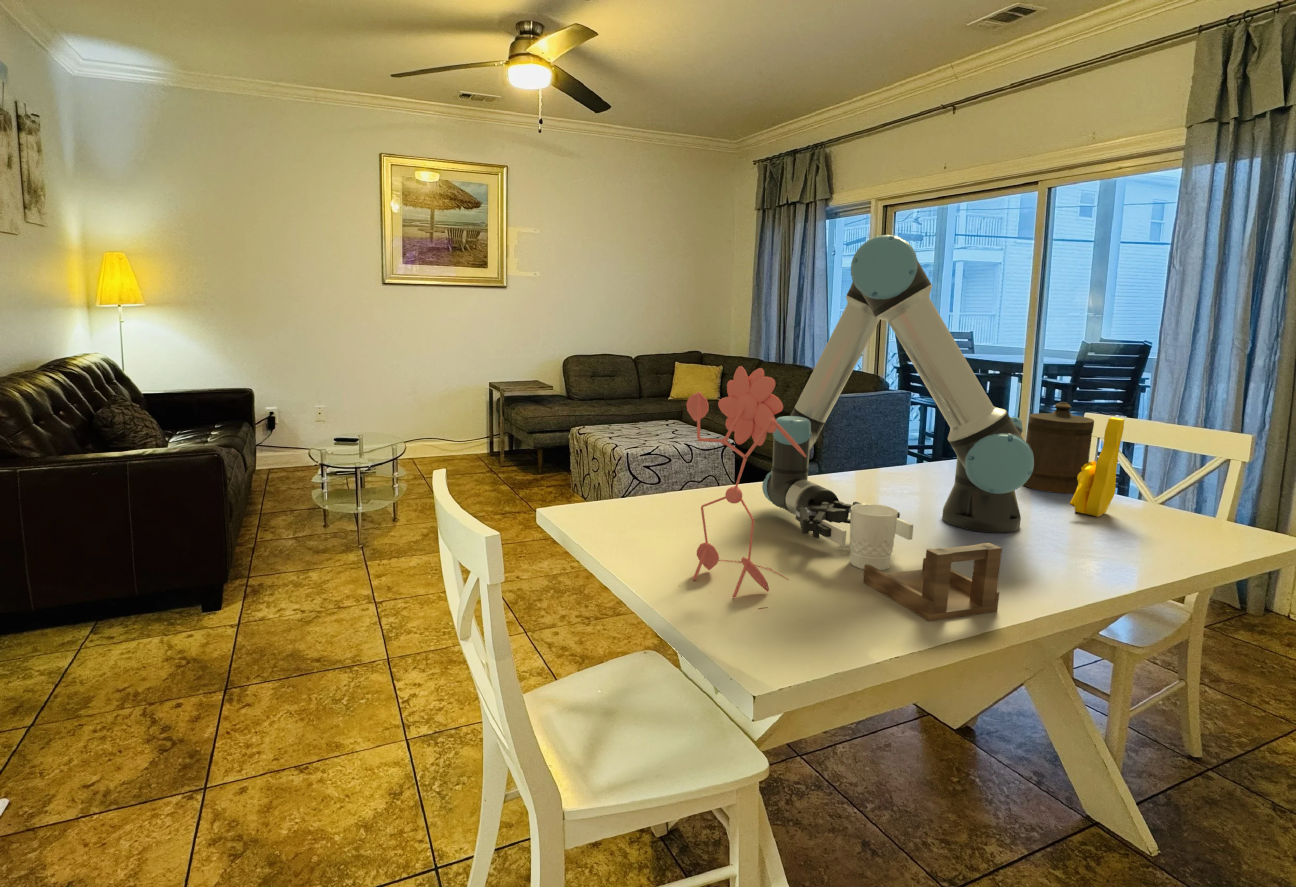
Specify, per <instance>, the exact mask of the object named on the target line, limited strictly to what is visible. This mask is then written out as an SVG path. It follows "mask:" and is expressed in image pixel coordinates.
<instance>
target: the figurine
mask: <svg viewBox="0 0 1296 887" xmlns="http://www.w3.org/2000/svg"><path fill="white" fill-rule="evenodd" d="M775 380H776V379H774V378H773V377H771V376H765V370H764V369H763V368H762V367H761V368H756V369H755V370H753V371H752V373H750V374H749V376H748V373H747V371H746V369H745V368H744V367H743V366H739V365H738V367H737V368H736V370H735V371H734V375H733V379H730V380H728V381H727V385H726V389H727V395H728V396H725V397H722V398H721V399H719V400H718V403H717V406H718V409H719V410H720V412H721V413H722V414H723V415H725V416H726V417H727V418H726V419H725V423H724V424H725V428H726V430H728V431H727V433H726V435H725V437H723V438H720V439H719V438H709V437H708V438H706V437H701V419H703V418H705V417H706V416H707V414H708V412H709V409H710V408H709V406H710V405H709V401H708V399H707V397H705V396H704V395H703V394H702V392H701V391H697V392H696V393H692V395H690V396H689V397H688V398H687V401H686V404H685V405H686V406H685V407H686V411H687V413H688V414H689V416H690V417H691V419H692V420H693V421H694V422H696V438H697V442H705V443H707V442H708V443H709V442H710V443H721V445H722V446H726V447H728V448H729V449H730V450H733V451H734V452H735V453H736V454H737V455H739V456H740V457H742V458H743V459H742V463H741V465H740V469H739V473H738V475H737V479H736V483H735V485H734V486H731V487H729V488H727V489H726V490H725V495H724V496H722V497H720V498H717V499H714V500H712V501H709V502H707V503H704V504H702V505H701V507H700V511H701V512H700V514H701V519H702V526H703V527H702V528H703V532H704V540H705V542H703V543H700V544H699V545H698V548H697V550H696V557H697V559H698V560H699V562H698V565H697V567H696V569H695V572H694V575H693V577H692V580H693V581H696V580H697V578H698V576H699V573H700V571H701V568H702V566H704V568H706V569H707V570H708V571H710V570H712V569H713V568H714V567H715V566H716V565H718V562H720V561H721V562H729V560H727V559H720V556H719V552H718V551H717V549H716V547H715V546H714V545H712V544H711V543H709V541H708V533H707V525H706V518H705V512H704V508H705V507H707V506H710V505H713V504H715V503H718V502H720V501H722V500H723V501H724V500H725V499H726V501H727V502H729V503H730V504H733V505H734V504H738V503H740V502H741V504H742V506H743V507H744V509H745V511H746V513H747V514H748V516H749V518H750V520H751V525H750V534H749V535H750V536H749V546H748V555H747V556H748V557H746V556H742V557H741V560H739V561H738V560H730V562H733V563H739V564H742V565H743V568H742V571H741V573H740V576H739V579H738V581H737V583H736V587H735V589H734V592H733V594H732V598H737V595H738V593H739V591H740V588H741V585H742V583H743V581H744V578H745V575H746V572H747V573H748V574H749V576H751V578H752V579H753V580H754V581H755V582H756V583H757V584H758V585H759V586H761V588H762V589H763V590H765V591H766V592H767V593H769V591H770V587H769V585H768V584H769V583H768V581H767V579H766V578H765V576H764V575H763V573H762V572H761V570H759V568H762V569H764V570H765V569H766V570H768V571H771V572H773V573H775V574H778V575H780V576H782V577H784V578H785V579H786V580H787V581H789V580H790V579H788V578H787V577H786V576H785V575H783V574H781V573H779V572H777V571H775V570H773V569H772V568H771V567H767V566H766V567H765V566H761V565H757V564H754V563H753V562H752V560H751V554H752V546H753V538H754V537H753V535H754V527H755V526H754V525H755V518H754V516H753V515H752V513H751V512H750V510H749V508H748V507H747V506H748V505H747V504H746V503H745V501H744V499H743V492H742V490H741V488H739V484H740V481H741V477H742V474H743V472H744V469H745V466H746V462H747V460H748V457H749V456H750V455H751V454H752V453H753V451H754V450H755V448H756V447H757V446H758V447H760V446H762V445H764V443H765V441H766V439H767V434H768V433H770V434H773V433H774V432H775V431H776V428H777V429H778V430H779V431H780V432H781V434H782V435H783V436H784V437H785V438H786V439H787V440H788V441H789V442H790V443H791V444H792V445H793V446H794V447H795V448H796V449H797V450H798V451H799V452H800V453H801V454H802V455H803V456H804V457H806V455H805V453H804V452H803V450H802V449H801V448H800V446H799V445H798V444H797V443H796V442H795V441H794V439H793V438H792V437H791V436H790V435H789V434H788V433H787V432H786V431H785V430H784V429H783V428H782V427H781V426H780V425H779V424H778V423H777V422H776V417H775V415H777V414H779V413H781V412H782V411H783V409H784V405H783V402H782V401H781V399H780V397H778V396H776V395H775V394H773V391H774V390H775V387H776V384H777V383H776V381H775ZM732 432H734V435H733V436H734V442H735V443H736V445H742V444H744V443H746V441H747V440H748V439H749V438H752V440H753V444H752V445H751V446H750V448H749V449H748V451H747V452H746V453H745V454H744V453H743V452H742V450H739V449H738V448H737V447H735V446H734V445H733V444H731V443H730V442H729V441H728V440H729V437H730V436H731V434H732ZM758 567H759V568H758ZM768 608H769V606H766V607H760V608H757V610H764V609H768Z"/></svg>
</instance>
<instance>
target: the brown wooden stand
mask: <svg viewBox="0 0 1296 887" xmlns="http://www.w3.org/2000/svg"><path fill="white" fill-rule="evenodd" d="M1002 551H1003V548H1002V547H1000V546H998V545H995V544H993V543H991V542H984V543H975V544H971V545H963V546H961V545H960V546H952V547H943V548H941V547H937V548H929V549H928V548H927V549H926V552H925V557H923V560H922V567H921V568H922V569H915V570H914V569H913V570H907V571H896V572H888V573H887V572H884V571H883V570H878V569H877V568H875V567H873V566H871V565H869V564H866V565H865V566H864V569H863V582H862V583H864V584H866V585H868V586H869V587H870V588H872V589H874V590H876V591H877V592H879V593H881V594H883V595H884V596H886V597H887V598H890V600H893V601H895V602H896V603H898V604H899V605H901V606H903V607H904V608H906V609H907V610H910V611H911V612H913V613H914V614H916V615H918V617H919V616H920V617H921V618H923V619H925V620H926V621H928V622H932V621H940V620H946V619H953V618H954V619H955V618H960V617H966V616H967V617H968V616H974V615H981V614H987V613H994V612H998V606H999V600H1000V591H998V584H999V576H1000V569H1001V568H1000V567H1001V559H1002ZM969 561H973V567H972V578H970V577H969V576H966V575H964V574H962V573H961V572H960V573H959V572H958V571H955V570H954V569H952V564H953V563H960V562H969Z"/></svg>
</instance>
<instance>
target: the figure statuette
mask: <svg viewBox="0 0 1296 887" xmlns="http://www.w3.org/2000/svg"><path fill="white" fill-rule="evenodd" d="M1106 423H1107V424H1106V426H1105V430H1104V437H1103V445H1102V447H1101V451H1100V453H1099V456H1098V458H1097V459H1096V460H1091V461H1089V463H1087V464H1085V465H1084V466H1082V467H1081V470H1082V471H1081V472H1080V473H1079V474H1078V477H1077V480H1078V486H1077V489H1076V492H1075V493H1073V496H1072V498H1071V500H1070V502H1069V505H1070V506H1072V507H1074V512H1076V513H1080V514H1086V515H1090V516H1093V517H1097V518H1099V517H1100V516H1102V515H1104V514H1105V513H1107V511H1108V508H1109V506H1110V504H1111V502H1112V500H1113V499H1114V497H1115V494H1116V487H1117V486H1116V485H1117V484H1116V481H1117V466H1118V462H1119V452H1120V448H1121V447H1120V446H1121V441H1122V438H1123V434H1124V427H1125V426H1124V425H1125V419H1124V418H1119V417H1109V418H1108V420H1107V422H1106Z"/></svg>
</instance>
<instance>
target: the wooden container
mask: <svg viewBox="0 0 1296 887" xmlns="http://www.w3.org/2000/svg"><path fill="white" fill-rule="evenodd" d="M1054 407H1055V410H1054V411H1053V412H1049V413H1048V412H1047V413H1045V412H1039V413H1038V412H1037V413H1030V414H1029V417H1028V424H1027V430H1026V439H1025V442H1026V443H1028V445H1029V446H1030V448H1031V449H1032V452H1033V455H1034V468H1033V472H1032V474H1031V476H1030V478H1029V479H1028V480H1027V482H1026V483H1025V484H1024V485H1023V486H1024V487H1027V488H1029V489H1032V490H1035V491H1036V490H1037V491H1040V492H1041V491H1042V492H1047V493H1055V494H1075V492H1076V489H1077V486H1078V480H1077V477H1078V474H1079V473H1080V472H1081V471H1082V470H1081V467H1082V466H1084V465H1085V464H1087V463H1089V462H1090V453H1091V446H1092V445H1091V444H1092V437H1093V436H1092V435H1093V432H1094V428H1095V426H1094V425H1095V420H1094V419H1092V418H1090V417H1086V416H1080V415H1074V414H1072V413H1071V412H1070V411H1069V410H1070V409H1071V408H1072V406H1071V405H1070V404H1069V403H1068V402H1066V401H1065V402H1064V401H1059V402H1057V403H1055V406H1054Z"/></svg>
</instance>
